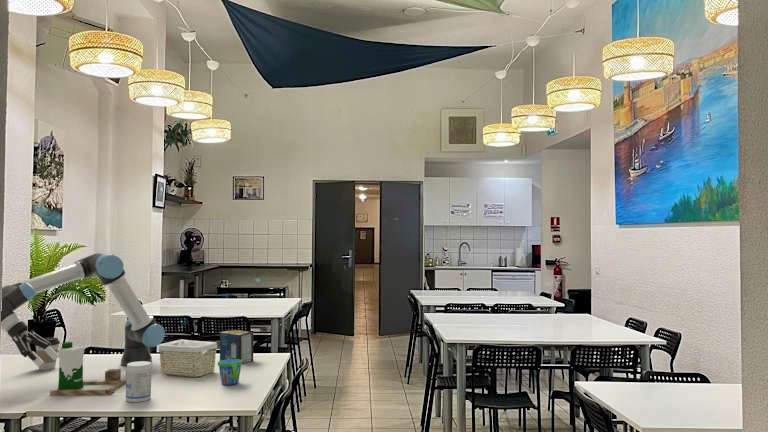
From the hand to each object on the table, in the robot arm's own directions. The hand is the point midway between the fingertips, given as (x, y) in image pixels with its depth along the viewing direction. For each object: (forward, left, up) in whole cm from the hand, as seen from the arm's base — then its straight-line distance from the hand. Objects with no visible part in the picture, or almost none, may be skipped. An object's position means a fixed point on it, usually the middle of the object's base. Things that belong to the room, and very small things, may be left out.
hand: (49, 361), depth 263 cm
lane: (-14, +7, -13) cm, 20 cm away
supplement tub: (-31, +35, -13) cm, 49 cm away
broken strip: (-20, -4, -13) cm, 24 cm away
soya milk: (-8, +4, -12) cm, 15 cm away
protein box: (-89, -22, -13) cm, 92 cm away
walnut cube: (-25, -1, -12) cm, 28 cm away
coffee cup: (-1, -52, -13) cm, 53 cm away
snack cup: (-71, +27, -13) cm, 77 cm away
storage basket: (-60, -5, -13) cm, 61 cm away
